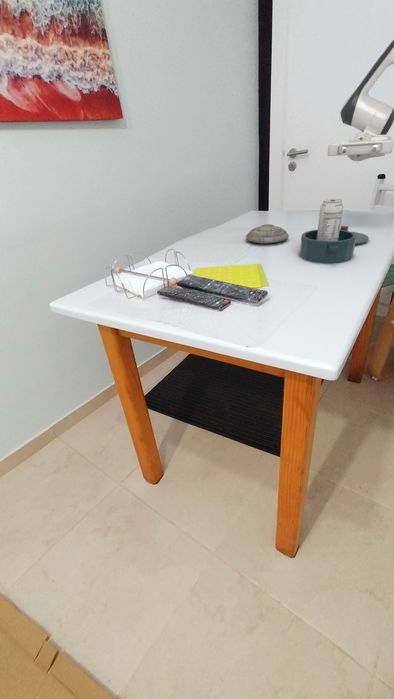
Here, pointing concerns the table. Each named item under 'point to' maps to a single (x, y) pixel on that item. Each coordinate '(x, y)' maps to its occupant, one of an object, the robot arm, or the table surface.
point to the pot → (327, 247)
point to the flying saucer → (267, 234)
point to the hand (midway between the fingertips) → (359, 149)
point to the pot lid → (357, 235)
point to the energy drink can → (330, 220)
